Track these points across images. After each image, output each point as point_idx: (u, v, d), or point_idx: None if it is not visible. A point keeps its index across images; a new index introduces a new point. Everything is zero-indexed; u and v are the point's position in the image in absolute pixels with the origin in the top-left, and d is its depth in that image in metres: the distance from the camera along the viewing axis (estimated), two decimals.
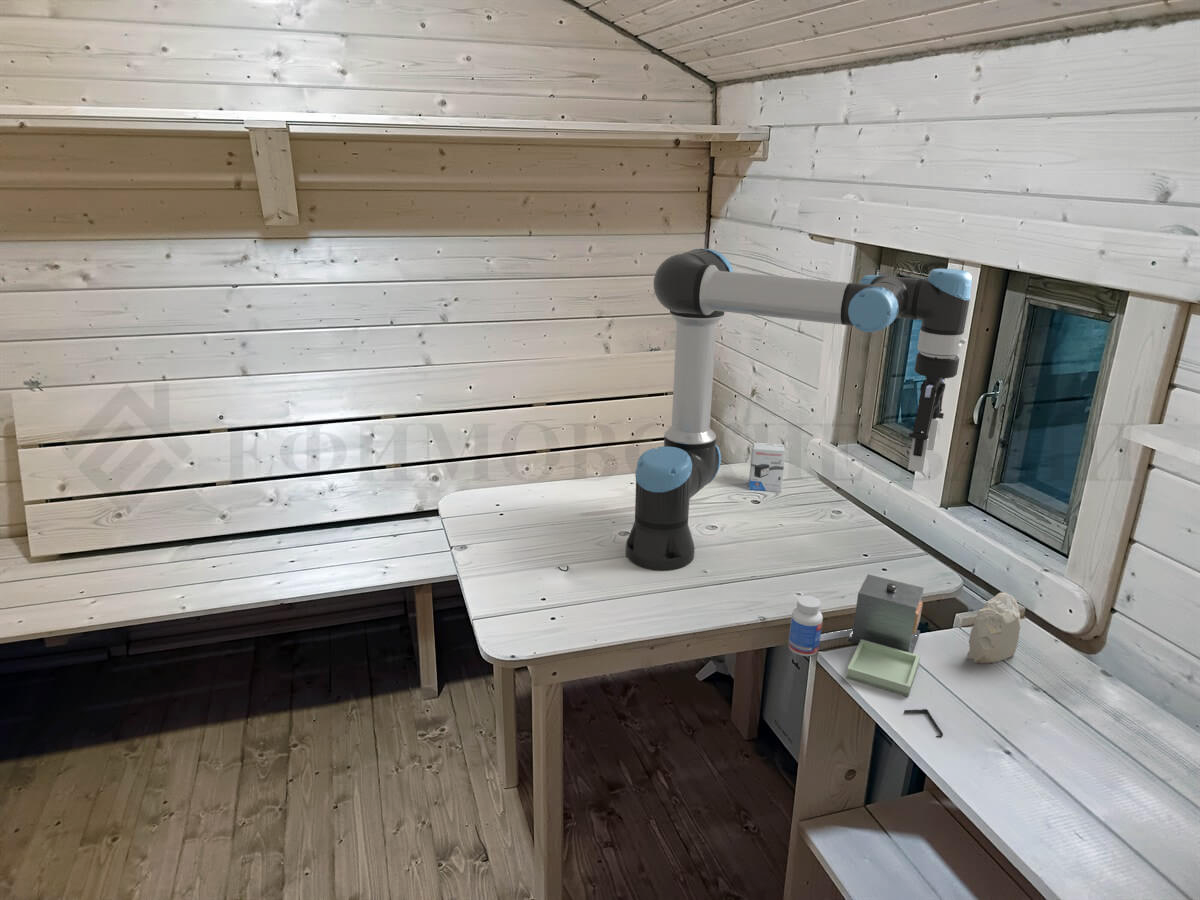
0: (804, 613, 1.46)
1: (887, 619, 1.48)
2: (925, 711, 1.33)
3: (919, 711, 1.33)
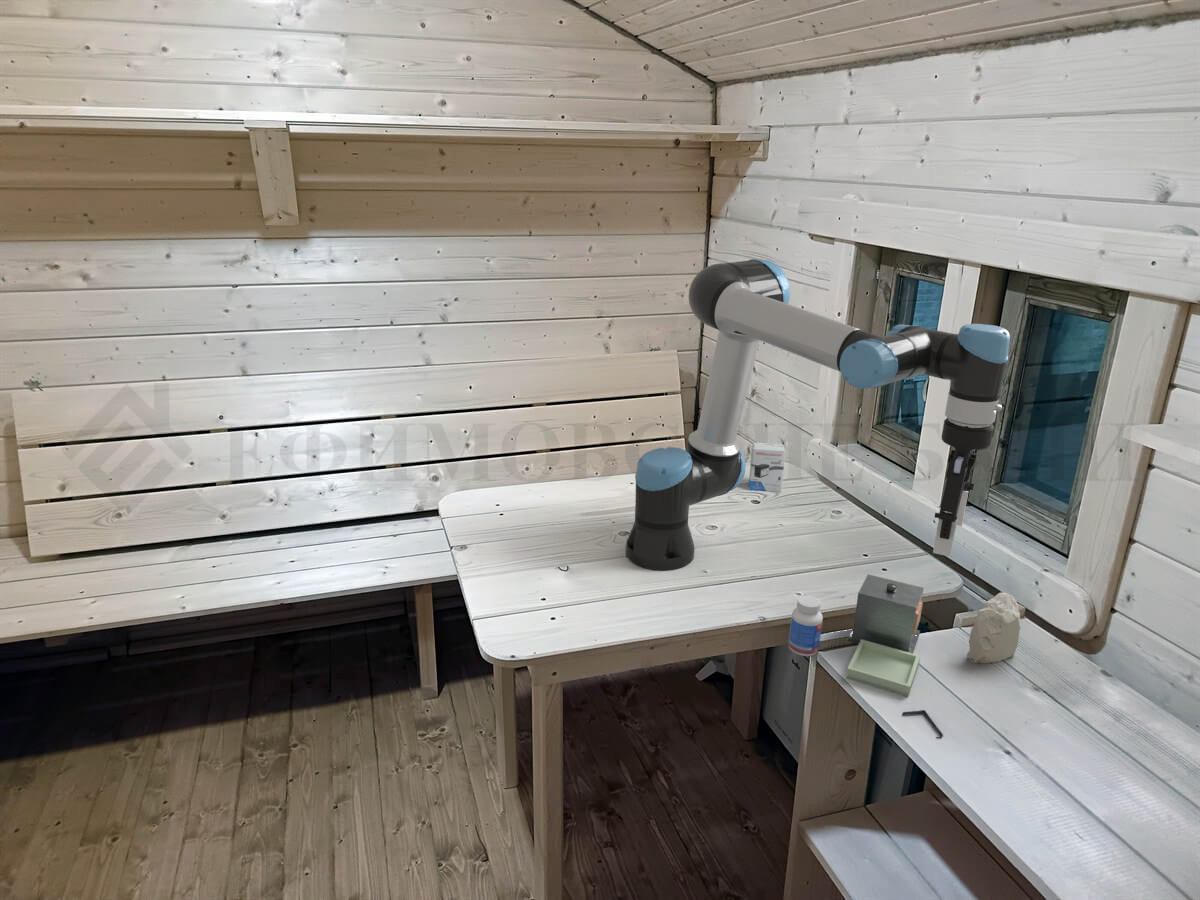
0: (804, 613, 1.46)
1: (887, 619, 1.48)
2: (923, 712, 1.33)
3: (917, 712, 1.33)
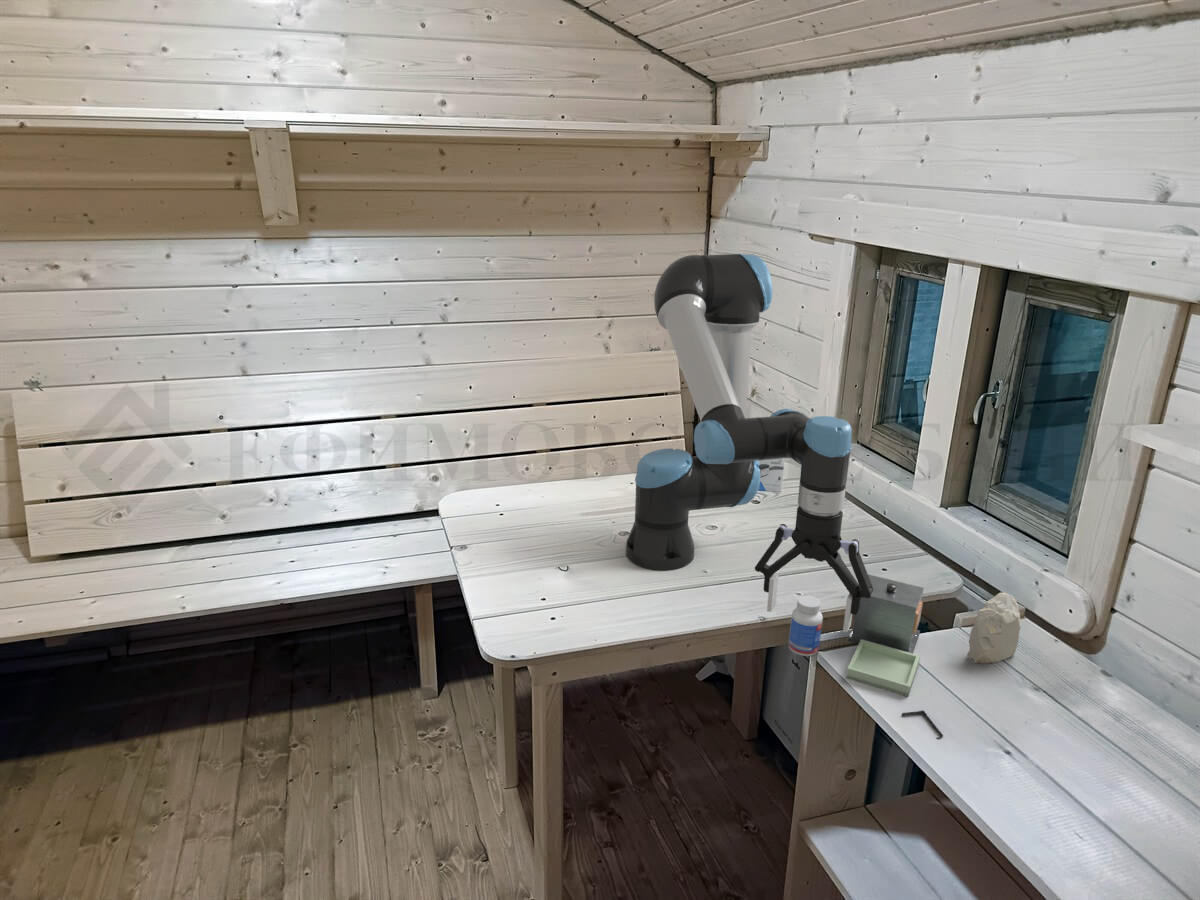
0: (804, 613, 1.46)
1: (887, 619, 1.48)
2: (922, 712, 1.33)
3: (916, 713, 1.32)
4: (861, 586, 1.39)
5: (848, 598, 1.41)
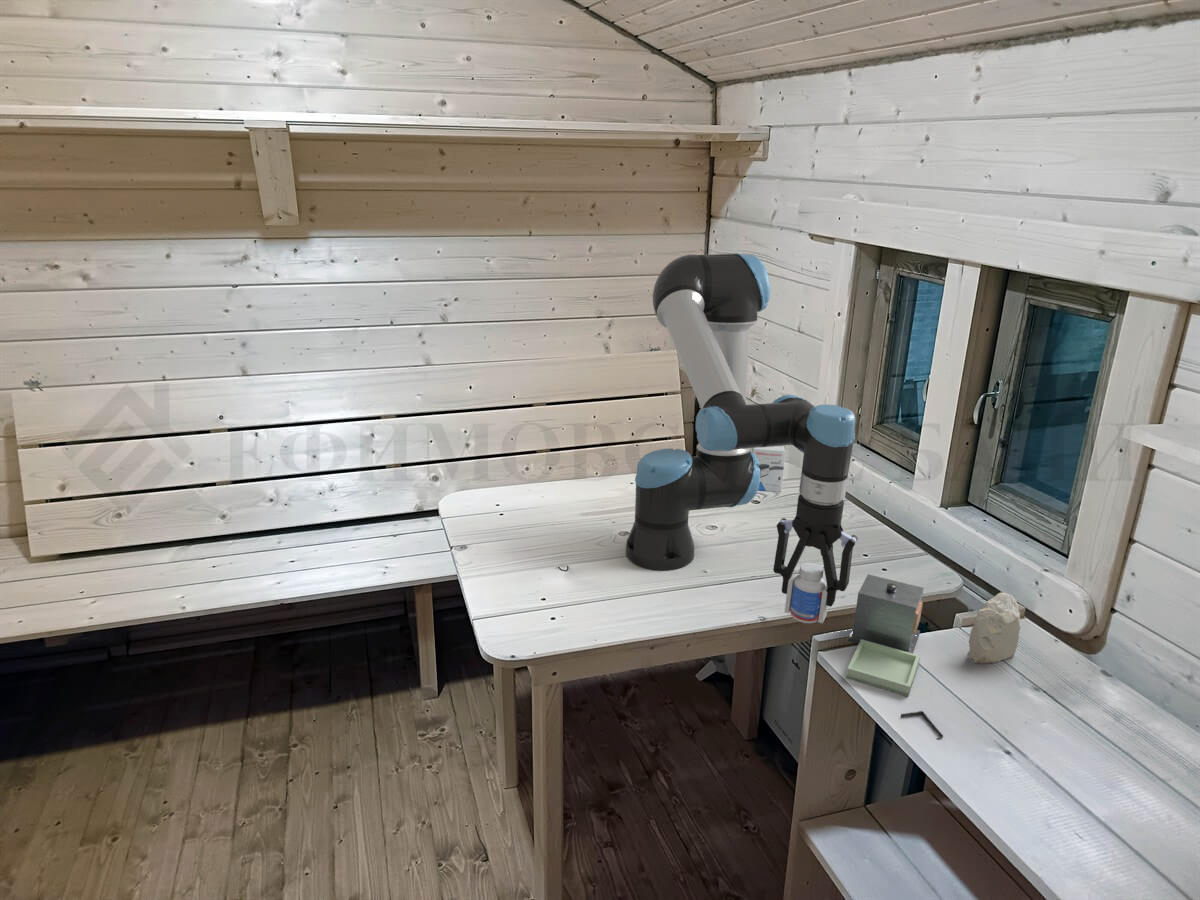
0: (807, 580, 1.44)
1: (887, 619, 1.48)
2: (921, 713, 1.32)
3: (915, 714, 1.32)
4: (841, 579, 1.41)
5: (824, 590, 1.43)
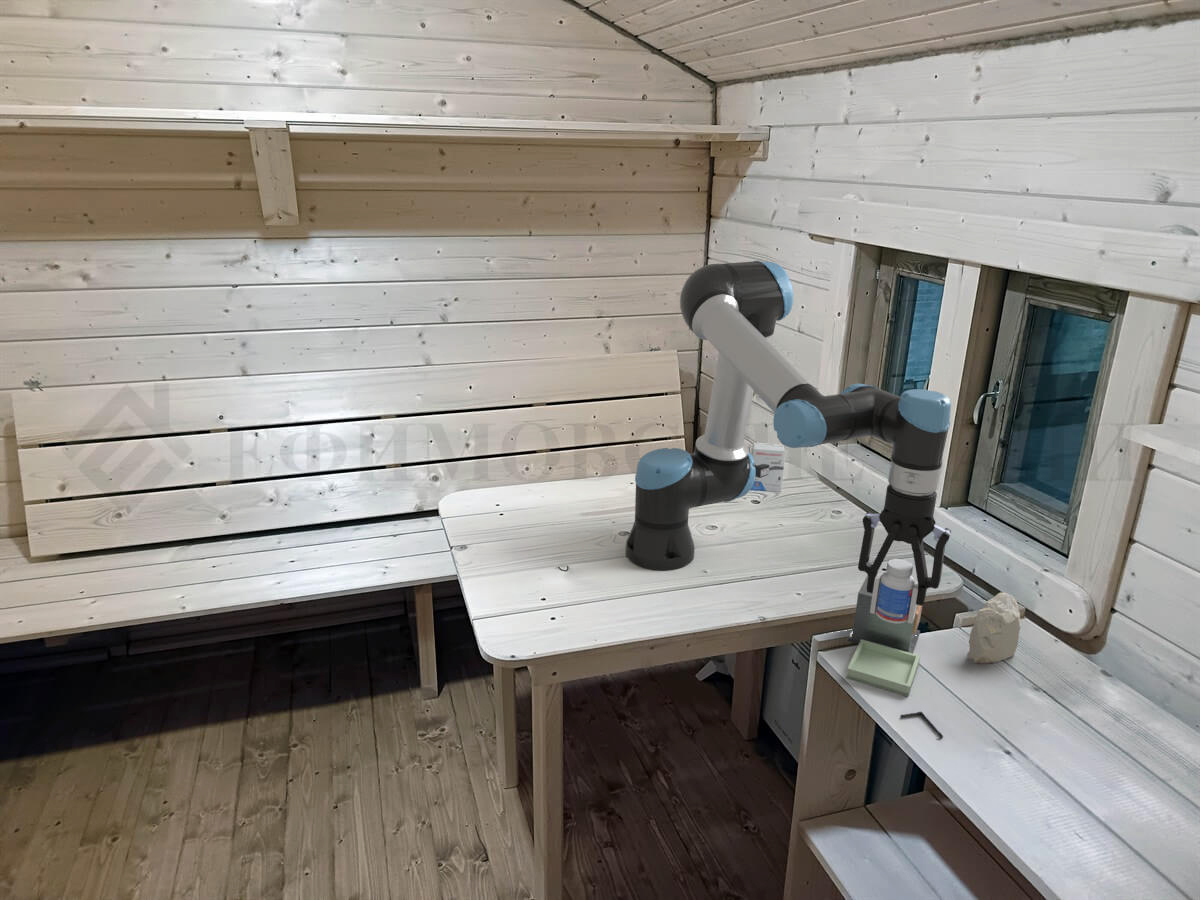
0: (896, 577, 1.35)
1: None
2: (920, 714, 1.32)
3: (914, 714, 1.32)
4: (933, 575, 1.33)
5: (914, 588, 1.35)
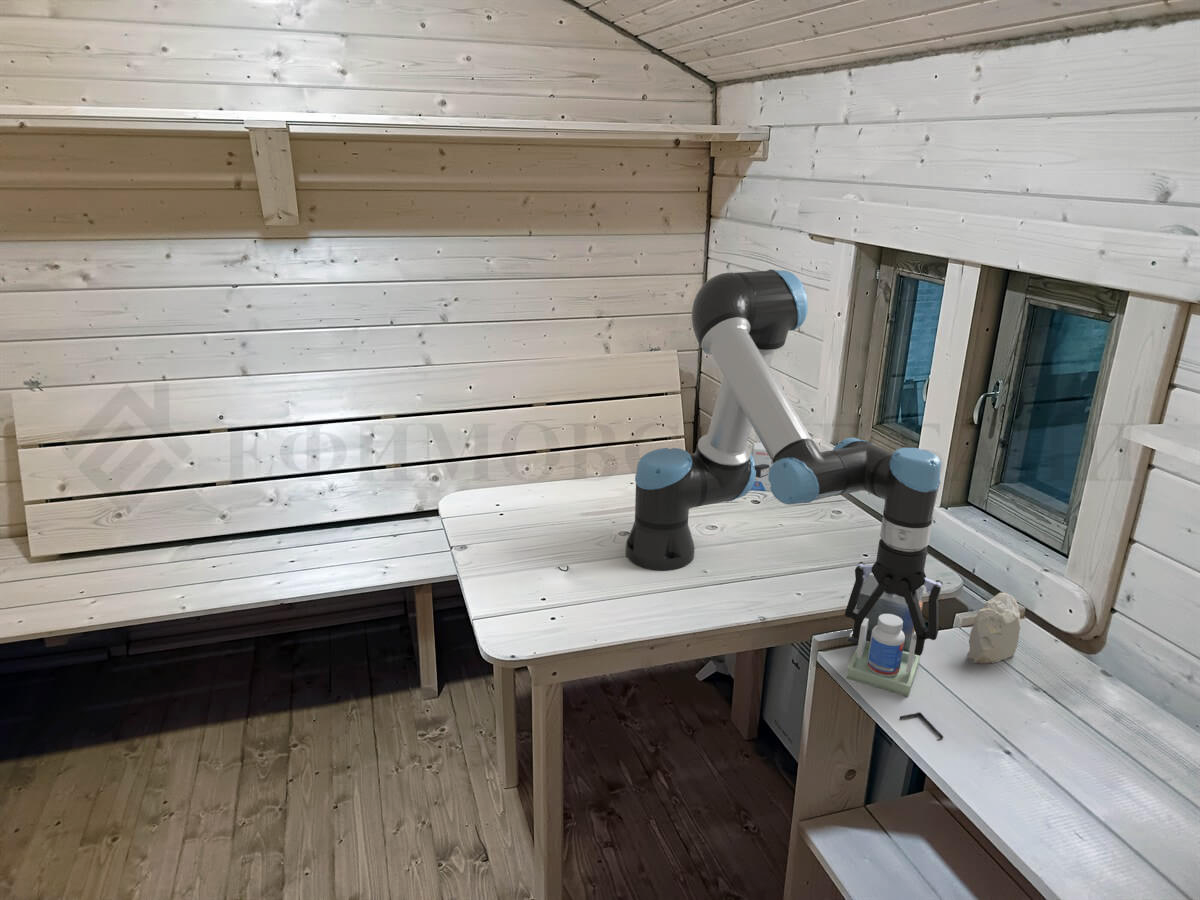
0: (886, 632, 1.39)
1: None
2: (918, 714, 1.32)
3: (913, 715, 1.32)
4: (930, 627, 1.36)
5: (913, 639, 1.38)
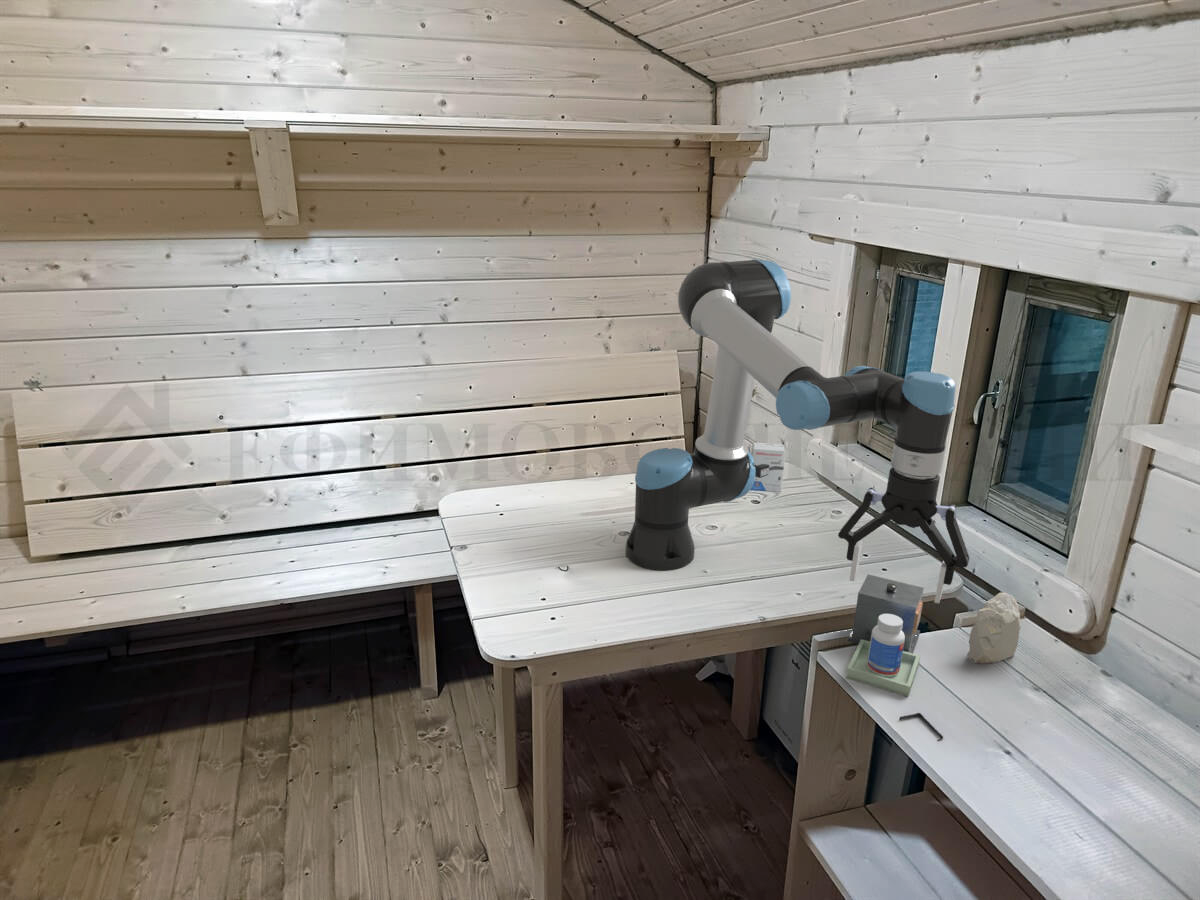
0: (886, 632, 1.39)
1: None
2: (918, 715, 1.32)
3: (913, 716, 1.32)
4: (958, 554, 1.30)
5: (942, 567, 1.32)
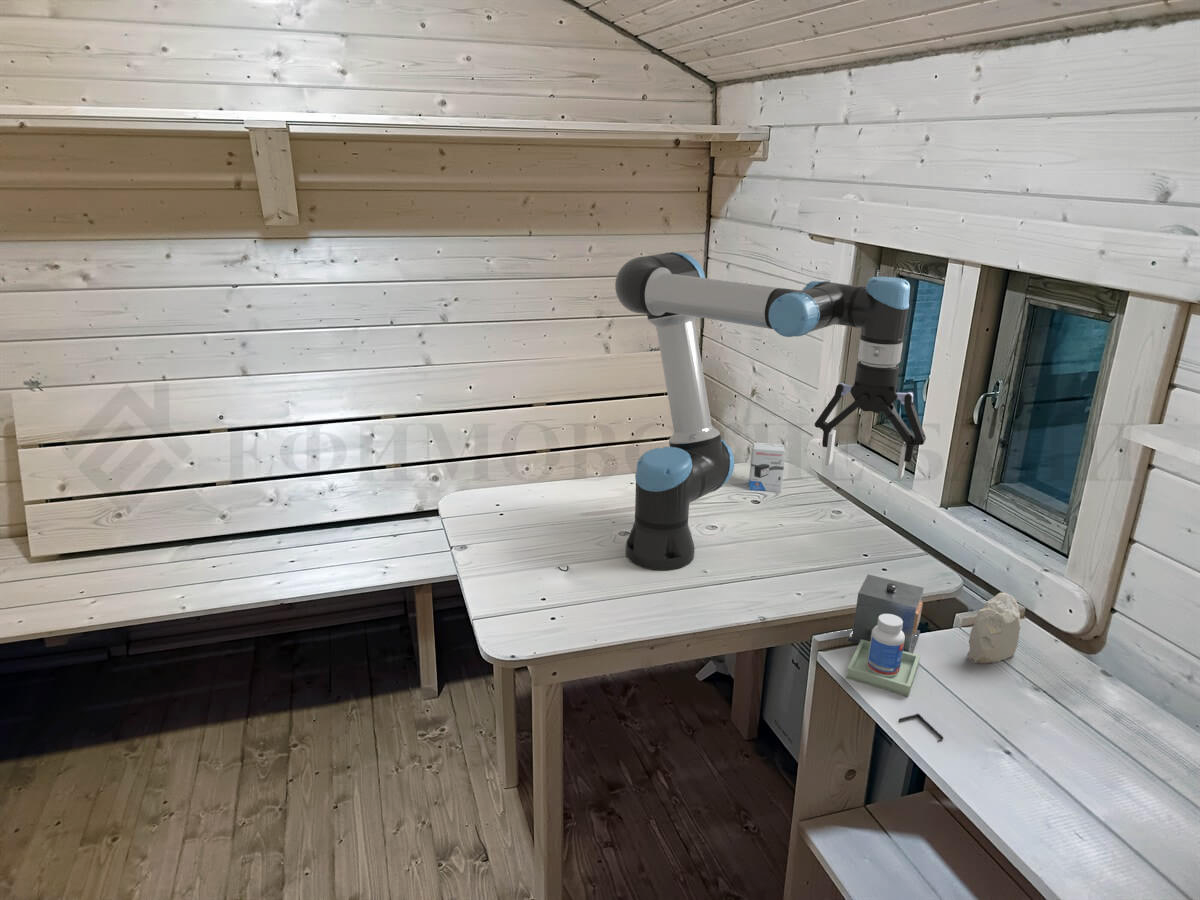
0: (886, 632, 1.39)
1: None
2: (917, 716, 1.32)
3: (911, 717, 1.32)
4: (915, 434, 1.52)
5: (903, 446, 1.54)
